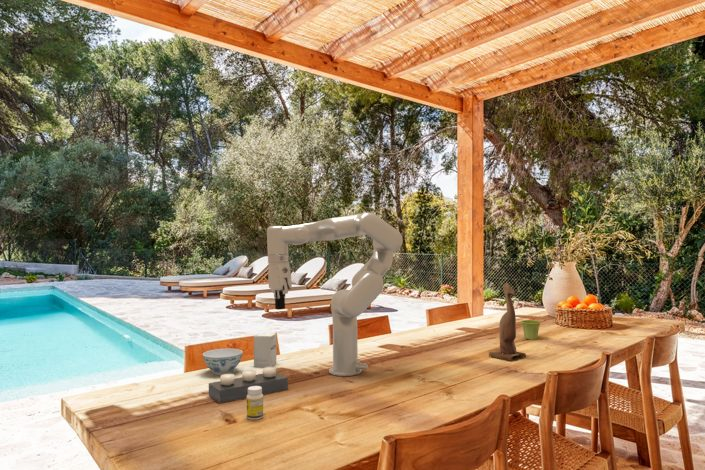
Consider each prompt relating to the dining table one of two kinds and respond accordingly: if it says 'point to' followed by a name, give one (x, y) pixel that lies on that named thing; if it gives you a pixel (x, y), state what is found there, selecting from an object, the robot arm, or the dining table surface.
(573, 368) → the dining table surface
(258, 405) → the supplement bottle
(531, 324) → the plant pot
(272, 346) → the supplement box
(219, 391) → the knob plate
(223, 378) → the knob
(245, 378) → the knob middle
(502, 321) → the bird sculpture
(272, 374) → the knob
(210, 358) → the chinaware
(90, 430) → the dining table surface
